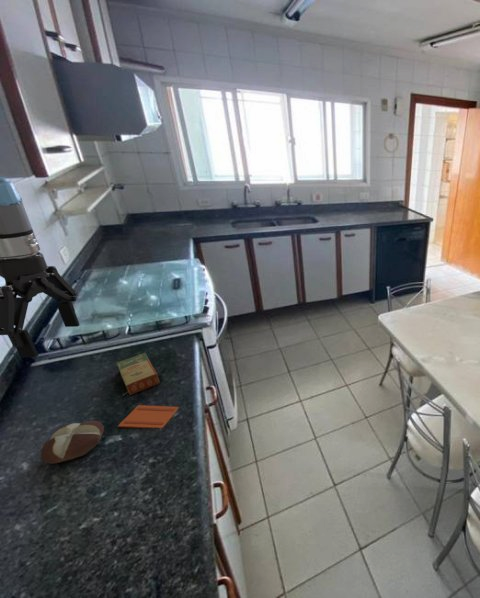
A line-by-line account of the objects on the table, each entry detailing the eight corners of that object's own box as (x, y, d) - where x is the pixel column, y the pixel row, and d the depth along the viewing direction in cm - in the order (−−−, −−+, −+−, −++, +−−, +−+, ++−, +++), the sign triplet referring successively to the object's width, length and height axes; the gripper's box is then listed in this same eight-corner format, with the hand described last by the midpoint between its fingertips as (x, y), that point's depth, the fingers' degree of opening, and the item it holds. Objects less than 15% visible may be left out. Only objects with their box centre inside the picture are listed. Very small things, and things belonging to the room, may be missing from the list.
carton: (129, 396, 100) (124, 385, 99) (119, 372, 110) (114, 361, 108) (161, 383, 106) (157, 372, 104) (149, 361, 116) (145, 351, 114)
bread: (34, 468, 78) (24, 454, 75) (67, 430, 88) (59, 417, 85) (89, 461, 80) (81, 446, 78) (115, 424, 90) (108, 411, 88)
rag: (118, 427, 90) (117, 425, 90) (138, 406, 97) (138, 404, 97) (162, 428, 91) (162, 427, 90) (180, 407, 98) (179, 406, 98)
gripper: (-17, 275, 59) (29, 371, 68) (77, 239, 81) (103, 315, 90) (-70, 275, 57) (-16, 373, 66) (40, 238, 80) (70, 316, 88)
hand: (53, 340), depth 78 cm, fingers open, 13 cm apart
